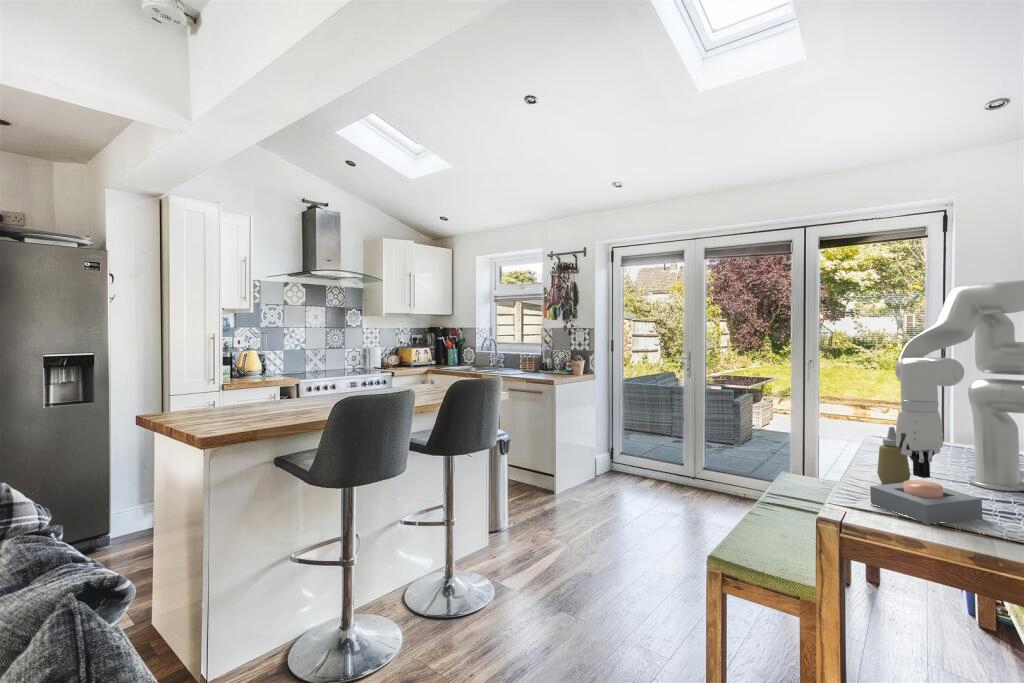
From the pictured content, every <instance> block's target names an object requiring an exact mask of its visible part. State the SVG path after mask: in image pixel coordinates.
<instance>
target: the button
mask: <svg viewBox="0 0 1024 683" xmlns="http://www.w3.org/2000/svg"><path fill="white" fill-rule="evenodd" d="M903 484H904V493H907V494H911V495H914V496H917V497H920V498H923V499H931V498H940V497H943V488H944V486H943V485H942V484H940V483H937V482H933V481H927V480H918V479H917V480H916V479H909V480H907V481H904V482H903Z"/></svg>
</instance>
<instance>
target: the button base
mask: <svg viewBox="0 0 1024 683" xmlns="http://www.w3.org/2000/svg"><path fill="white" fill-rule="evenodd" d="M869 489H870V490H869V491H870V504H871V503H872V504H874V505H877V506H880V507H882V508H885V509H887V510H886V511H888V510H890V511H894V512H897V513H900V514H903V515H907V516H909V517H912V518H914V519H916V520H919V521H921V522H922V523H925V524H927V525H926V526H930V525H929V524H934V523H940V522H951V523H957V522H956V521H959V522H966V521H965V520H967V521H973V520H981V519H983V501H982V500H983V499H982V498H981V497H977V496H974V495H971V494H967V493H964V492H961V491H956V490H953V489H950V488H946V487H943V497H940V498H931V499H923V498H920V497H917V496H914V495H911V494H907V493H904V484H903V483H895V484H886V485H882V484H878V485H870V487H869ZM872 504H871V505H872ZM874 505H873V506H874ZM877 506H876V507H877ZM880 507H879V508H880ZM882 508H881V509H882ZM885 509H884V510H885ZM890 511H889V512H890ZM922 523H921V524H922ZM925 524H924V525H925Z"/></svg>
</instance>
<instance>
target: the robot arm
mask: <svg viewBox="0 0 1024 683" xmlns="http://www.w3.org/2000/svg"><path fill="white" fill-rule="evenodd" d="M1020 312H1024V279H1020V280H1018V279H1017V280H1009V281H996V282H986V283H984V282H982V283H975V284H970V285H962V286H958V287H955V288H954V289H952V290H951V291H950V292H948V294H947V296H946V298H945V300H944V303H943V305H942V307H941V309H940V311H939V314H938V316H937V317H936V319H935V322H934V324H933V326H931V327H929V328H926V329H925V330H924V331H922V332H920V333H919V334H917V335H915V336H914V337H913V338H912V339H910V340H909V341H908V342H906V344H905V345H904V347H903V348H902V349H901V352H900V354H899V356H898V358H897V361H896V363H895V369H894V370H895V371H894V372H895V376H896V378H897V380H898V381H900V408H901V409H900V411H898V414H897V419H896V427H895V428H896V429H895V432H896V446H897V447H898V448H902V450H901V454H903V455H907V457H909V459H910V461H912V474H913V476H914V477H917V478H922V479H928V478H931V467H930V466H931V462H932V461H933V457H934V455H938V454H939V453H941V449H942V448H943V446H944V433H943V432H944V431H943V423H942V418H941V414H940V412H939V395H938V394H939V393H938V392H939V391H938V388H939V387H952V386H955V385H958V384H959V383H960V382H962V381H963V378H964V376H965V368H964V366H963V365H962V363H961V362H959V361H958V360H956V359H954V358H951V357H949V358H948V357H927V355H929V354H930V353H933V352H935V351H940V350H942V349H946V348H950V347H953V346H955V345H959V344H962V343H964V342H966V341H968V340H970V339H971V338H972V336H973V335H974V361H975V362H974V363H975V367H976V369H977V370H978V371H979V372H981V373H985V374H988V375H989V374H990V375H1009V376H1013V375H1014V376H1024V341H1016V336H1015V334H1016V333H1015V332H1016V331H1015V324H1014V322H1013V321H1012V320H1011V318H1010V317H1008V315H1006V314H1014V313H1020ZM967 397H968V401H969V403H970V404H969V405H970V408H971V412H972V419H973V420H972V421H973V423H972V424H973V441H974V442H973V443H974V467H975V468H974V469H975V470H974V471H975V472H974V474H975V475H972V476H970V477H968V482H969V483H970V484H972V485H974V486H976V487H980V488H984V489H989V490H995V491H1005V492H1023V491H1024V481H1023V479H1024V470H1021V466H1020V464H1021V463H1020V439H1019V438H1020V437H1019V434H1020V433H1019V427H1018V424H1017V423H1016V421H1015V420H1014V419H1013V418H1012V417H1011V416H1010V415H1009V413H1011V414H1024V380H1023V379H1007V378H981V379H977V380H975V381H972V382H971V383H970V384H969V386H968V389H967Z"/></svg>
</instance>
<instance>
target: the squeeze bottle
mask: <svg viewBox="0 0 1024 683" xmlns="http://www.w3.org/2000/svg"><path fill="white" fill-rule="evenodd" d="M878 449H879V450H878V460H877V475H878V478H879V481H880V483H881V485H886V484H895V483H903V482H904V481H907V480H911V471H910V464H909V459H908V456H907V455H903V454H901V450H902V448H898V447H897V446H896V429H895V427H893V426H889V427H888V431H887V436H886V437H883V438H882V444H881V445H879V448H878Z"/></svg>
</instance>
